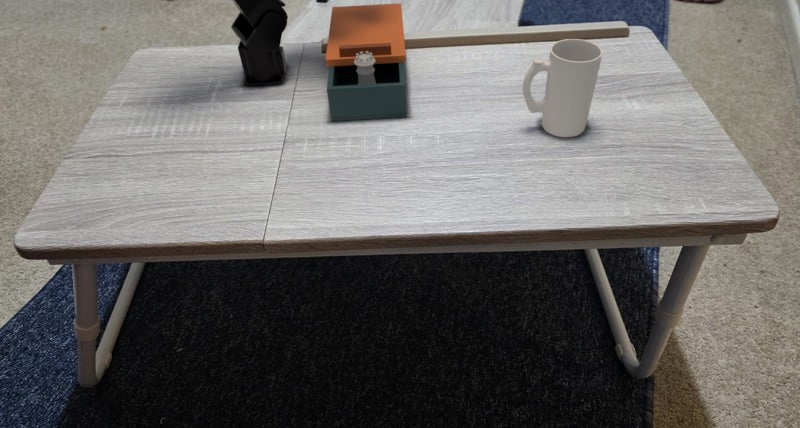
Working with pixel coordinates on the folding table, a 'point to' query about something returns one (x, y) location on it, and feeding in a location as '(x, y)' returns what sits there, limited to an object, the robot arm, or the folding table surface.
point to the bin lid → (366, 34)
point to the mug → (565, 86)
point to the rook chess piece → (365, 68)
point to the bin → (367, 93)
